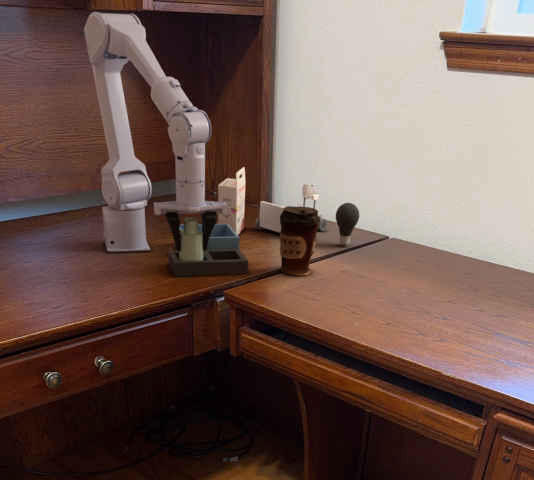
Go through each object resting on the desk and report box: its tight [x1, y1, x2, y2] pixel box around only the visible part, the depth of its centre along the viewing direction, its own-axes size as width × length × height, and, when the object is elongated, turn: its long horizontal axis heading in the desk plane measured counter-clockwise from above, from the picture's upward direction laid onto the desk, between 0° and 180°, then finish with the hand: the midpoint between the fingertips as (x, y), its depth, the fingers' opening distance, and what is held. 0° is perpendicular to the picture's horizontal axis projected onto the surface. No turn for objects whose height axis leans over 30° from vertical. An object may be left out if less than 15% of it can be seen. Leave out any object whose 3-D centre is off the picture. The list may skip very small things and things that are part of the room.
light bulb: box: [335, 202, 360, 248], centre depth 160 cm, size 6×6×10 cm
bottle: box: [179, 217, 203, 262], centre depth 139 cm, size 5×5×10 cm
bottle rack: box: [167, 248, 249, 277], centre depth 142 cm, size 16×8×3 cm, turn 106°
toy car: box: [254, 184, 328, 233], centre depth 169 cm, size 18×10×12 cm
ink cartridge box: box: [217, 166, 246, 236], centre depth 163 cm, size 9×5×15 cm, turn 168°
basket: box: [180, 223, 240, 250], centre depth 152 cm, size 12×11×4 cm
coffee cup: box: [279, 205, 320, 276], centre depth 141 cm, size 9×8×13 cm
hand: (190, 249), depth 140 cm, fingers closed on bottle, 5 cm apart
